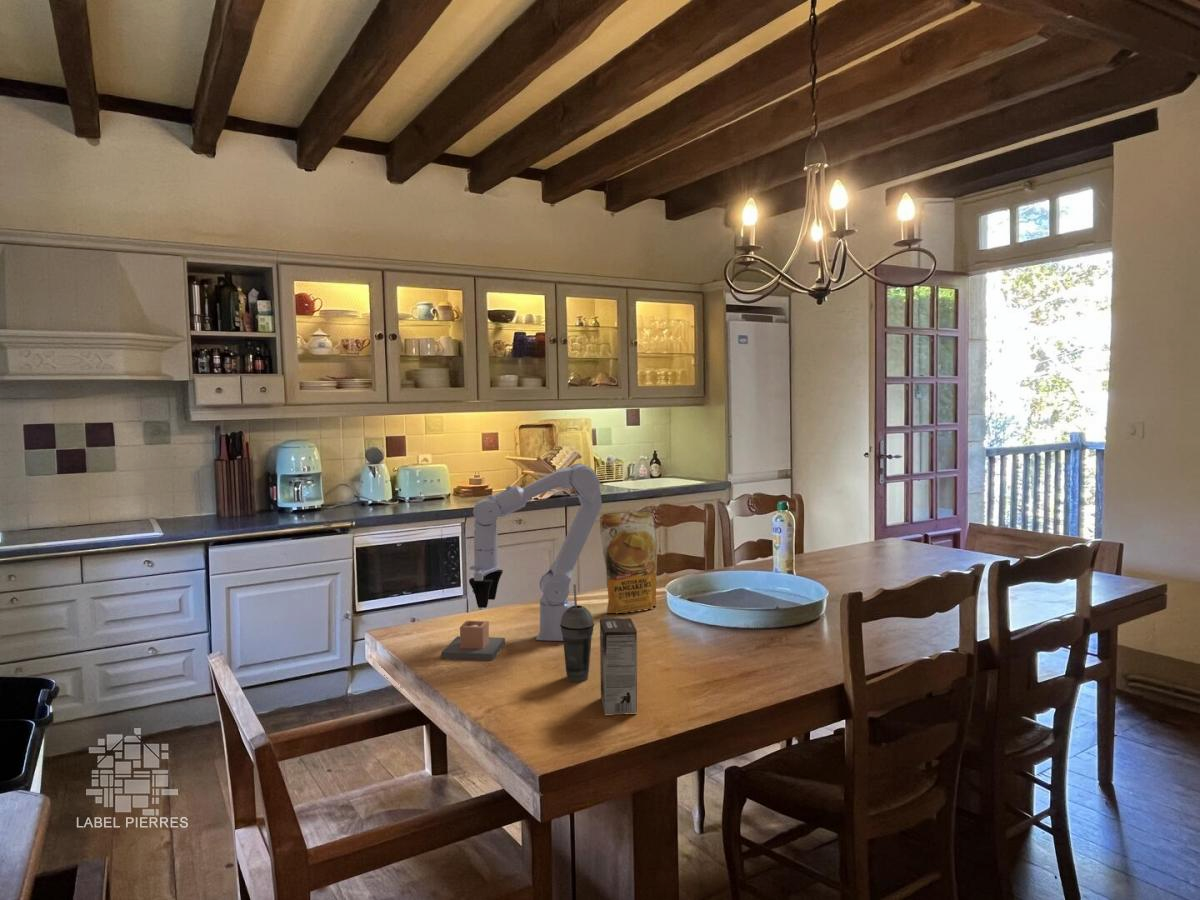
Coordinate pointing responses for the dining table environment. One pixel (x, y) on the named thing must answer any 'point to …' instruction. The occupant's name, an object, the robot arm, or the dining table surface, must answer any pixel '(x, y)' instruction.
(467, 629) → the collar
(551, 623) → the robot arm
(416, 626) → the dining table surface
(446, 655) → the post board
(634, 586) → the pancake mix bag
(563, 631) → the beverage cup
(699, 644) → the dining table surface
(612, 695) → the coffee box
